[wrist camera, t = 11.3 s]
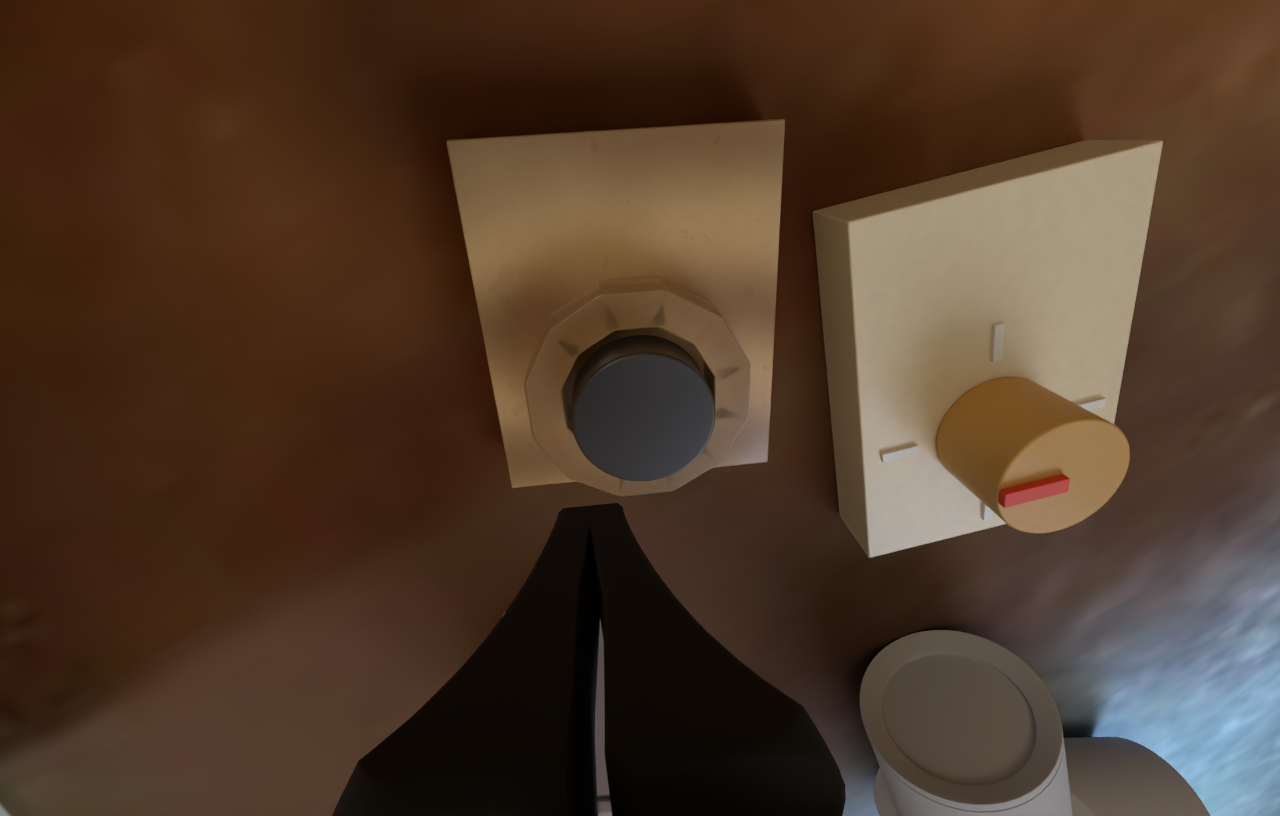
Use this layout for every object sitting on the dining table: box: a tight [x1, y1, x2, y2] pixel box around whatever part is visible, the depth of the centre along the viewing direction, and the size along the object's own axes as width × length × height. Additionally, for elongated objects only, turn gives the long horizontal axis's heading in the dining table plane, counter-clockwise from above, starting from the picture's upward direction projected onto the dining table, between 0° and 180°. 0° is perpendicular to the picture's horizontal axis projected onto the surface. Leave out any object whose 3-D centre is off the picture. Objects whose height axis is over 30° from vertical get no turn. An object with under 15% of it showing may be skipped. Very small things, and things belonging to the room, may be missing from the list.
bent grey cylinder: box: [860, 630, 1210, 816], centre depth 30 cm, size 18×11×20 cm
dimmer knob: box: [936, 377, 1130, 533], centre depth 19 cm, size 4×4×4 cm
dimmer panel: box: [813, 140, 1163, 558], centre depth 21 cm, size 14×10×3 cm
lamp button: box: [572, 335, 715, 481], centre depth 18 cm, size 4×4×2 cm
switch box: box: [446, 119, 785, 497], centre depth 19 cm, size 12×10×4 cm
